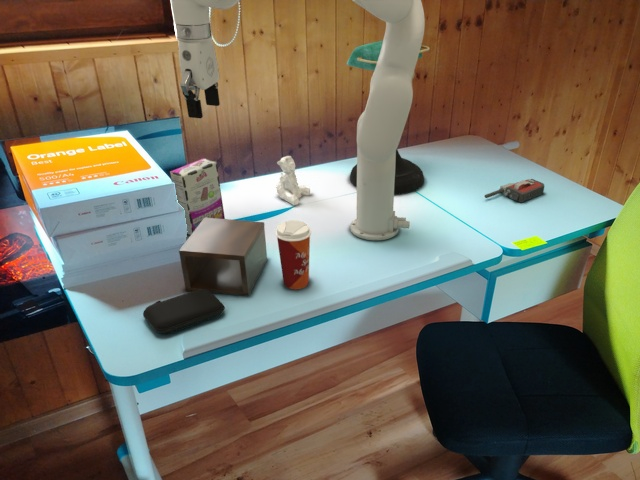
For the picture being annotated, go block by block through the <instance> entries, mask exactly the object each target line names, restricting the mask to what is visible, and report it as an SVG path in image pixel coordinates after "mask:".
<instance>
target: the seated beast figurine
mask: <svg viewBox="0 0 640 480" xmlns="http://www.w3.org/2000/svg"><path fill="white" fill-rule="evenodd" d="M276 164H277V165H278V166H279V168H280V169H281V171H282V172H281V174H280V175H279V181H278V183H277V184H276V186H275V189H276V193H277V195H278V197H279V198H280V199H282V200H283V201H285V202H287V203H288V204H290V205H292V206H297V205H299V203H300V200H299V199H300V198H302V197H303V196H307V197H308V196H311V188H310V187H306V185H299V183H298V178H297V175H296V172H295V171H296V163H295V160H294V158H292V156H291V155H286V156H283V157H281V158H280V160H277V161H276Z"/></svg>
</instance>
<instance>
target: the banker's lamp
mask: <svg viewBox="0 0 640 480" xmlns="http://www.w3.org/2000/svg"><path fill="white" fill-rule="evenodd" d="M382 43H383V39H382V40H379V41H374V42H369V43H366V44H362V45H359V46H357V47H355V48H354V49H353V50H352V52H351V54H350V55H349V58H348V59H347V62H346V65H347V66H349V67H354V68H357V69H363V70H366V71H373V72H374V70H375V68H376V65H377V61H378V58H379V55H380V51H381V48H382ZM429 51H430V47H429V46H427V45H423V44H422V45H421V49H420V52H419V56H418V60H420V59H422V58H423V53H426V52H429ZM415 76H416V73H415V71H414V73H413V77H412V81H414V78H415ZM349 181H350V183H351V185H353V186H354V187H356V188H357V163H356V164H355V165H354V166H353V167H352V169H351V170H350V173H349ZM424 184H425V175H424V171H423V170H422V168H421V167H420V166H418V165H417V163H414V162H412V161H411V160H409V159H407V158H404V157H402V156H401V155H400V152H399V150H398V149H397V150H396V163H395V182H394V196H397V195H405V194H409V193H413V192H415V191H417V190H420V189H422V187H423V186H424Z"/></svg>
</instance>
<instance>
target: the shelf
mask: <svg viewBox="0 0 640 480" xmlns="http://www.w3.org/2000/svg"><path fill="white" fill-rule="evenodd" d="M267 252H268V251H267V243H266V230H265V222H264V221H253V220H239V219H228V218H225V219H216V218H204V219H203V220H202V221H201V223H200V224H199V225H198V227H197V228H196V229H195V230H194V232H193V233H192V234H191V235H189V237H188V238H187V239H186V241H185V242H184V243H183V244H182V245H181V247H180V249H179V250H178V253H179V259H180V264H181V271H182V276H183V281H184V287H185V291H187V292H192V291H196V290H199V289H206V290H208V291H210V292H211V293H212V294H221V295H233V296H245V297H249V296H250V295H251V292H252V290H253V289H254V287H255V284H256V283H257V281H258V279H259V277H260V275H261V273H262V272H263V269H264V268H265V265H266V263H267V261H268V253H267Z"/></svg>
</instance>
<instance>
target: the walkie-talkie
mask: <svg viewBox="0 0 640 480" xmlns="http://www.w3.org/2000/svg"><path fill="white" fill-rule="evenodd" d="M544 191H545V183H543V182H541V181H538V180H536V179H534V178H528V179H524V180H520V181H516V182H510V183H506V184H504V185H500V188H499V189H497V190H494V191H492V192H490V193H486V194H484V198H485V199H488V198H490V197H494V196H496V195H498V194H502V195H504V197H507V198H509V199H512V200H513V201H516V202H518V203H523V202H526V201H528V200H531V199H533V198H535V197H538V196H541V195H543V194H544Z"/></svg>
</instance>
